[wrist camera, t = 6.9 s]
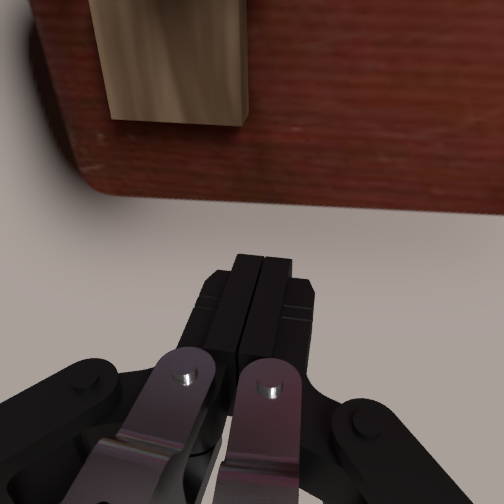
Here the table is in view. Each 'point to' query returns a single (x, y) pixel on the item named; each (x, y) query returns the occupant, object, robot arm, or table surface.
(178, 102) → the tile
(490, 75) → the table surface
